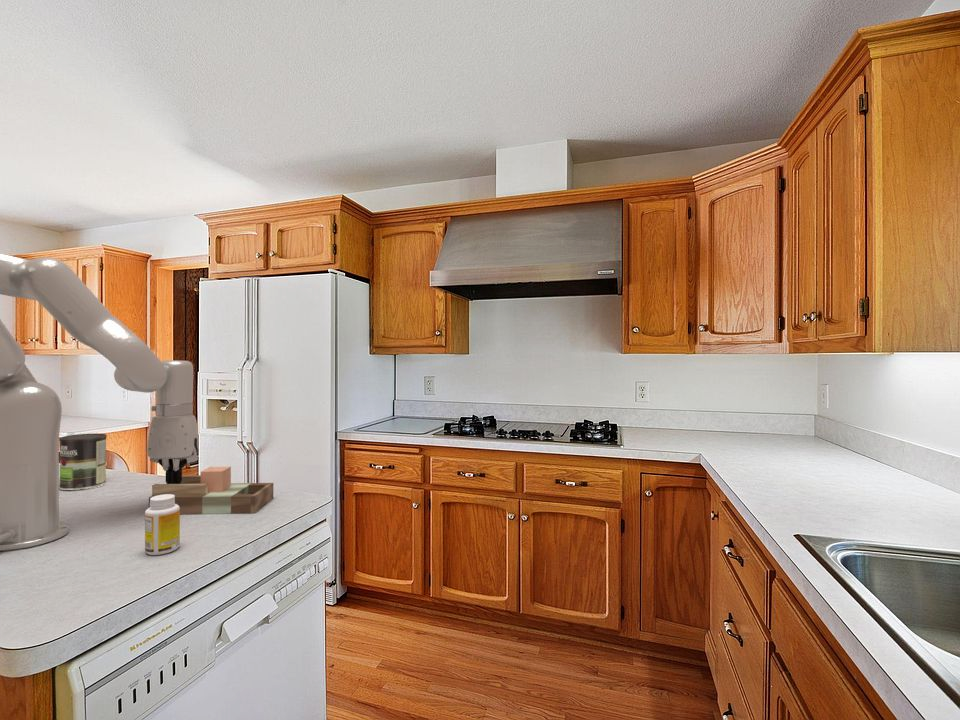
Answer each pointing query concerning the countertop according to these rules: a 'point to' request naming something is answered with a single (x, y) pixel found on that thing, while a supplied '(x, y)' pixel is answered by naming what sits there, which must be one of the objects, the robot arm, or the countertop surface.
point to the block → (216, 478)
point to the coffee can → (82, 461)
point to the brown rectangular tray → (216, 496)
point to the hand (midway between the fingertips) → (173, 485)
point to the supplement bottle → (162, 525)
